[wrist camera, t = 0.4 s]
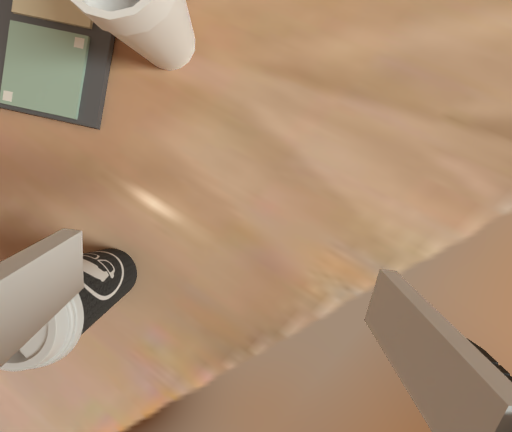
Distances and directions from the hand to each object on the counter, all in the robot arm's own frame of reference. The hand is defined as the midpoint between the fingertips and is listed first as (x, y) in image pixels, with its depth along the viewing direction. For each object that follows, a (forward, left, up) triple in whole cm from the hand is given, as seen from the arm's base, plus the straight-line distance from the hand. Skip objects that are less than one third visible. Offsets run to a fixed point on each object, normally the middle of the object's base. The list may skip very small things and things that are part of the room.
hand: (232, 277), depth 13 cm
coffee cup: (+11, -17, -24) cm, 31 cm away
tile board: (-18, -30, -24) cm, 42 cm away
